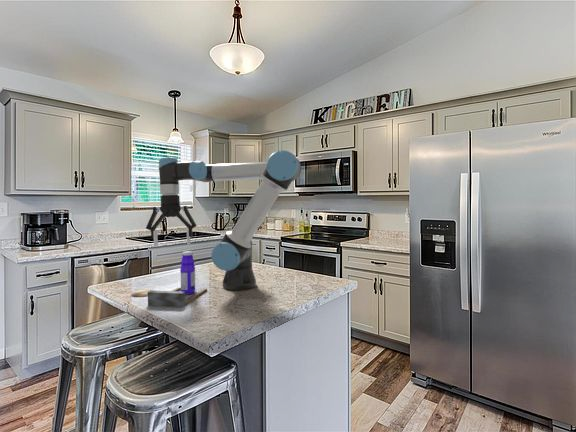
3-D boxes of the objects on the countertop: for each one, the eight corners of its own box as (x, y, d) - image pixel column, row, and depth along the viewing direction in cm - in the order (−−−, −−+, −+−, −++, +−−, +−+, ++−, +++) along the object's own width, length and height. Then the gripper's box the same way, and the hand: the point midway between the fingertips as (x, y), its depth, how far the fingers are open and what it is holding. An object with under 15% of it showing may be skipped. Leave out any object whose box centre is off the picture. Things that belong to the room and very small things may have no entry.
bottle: (183, 290, 143) (182, 250, 142) (196, 290, 143) (195, 250, 143) (179, 295, 136) (178, 253, 135) (193, 295, 136) (192, 252, 136)
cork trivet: (159, 291, 142) (159, 290, 142) (146, 297, 133) (146, 295, 133) (140, 290, 144) (140, 289, 144) (126, 296, 135) (126, 294, 135)
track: (207, 290, 142) (206, 279, 142) (182, 307, 120) (181, 293, 120) (177, 289, 145) (177, 278, 144) (147, 305, 123) (147, 292, 122)
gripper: (201, 194, 144) (204, 242, 145) (142, 196, 142) (145, 245, 143) (198, 193, 137) (200, 244, 137) (136, 195, 135) (138, 247, 136)
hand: (172, 245), depth 140 cm, fingers open, 13 cm apart
